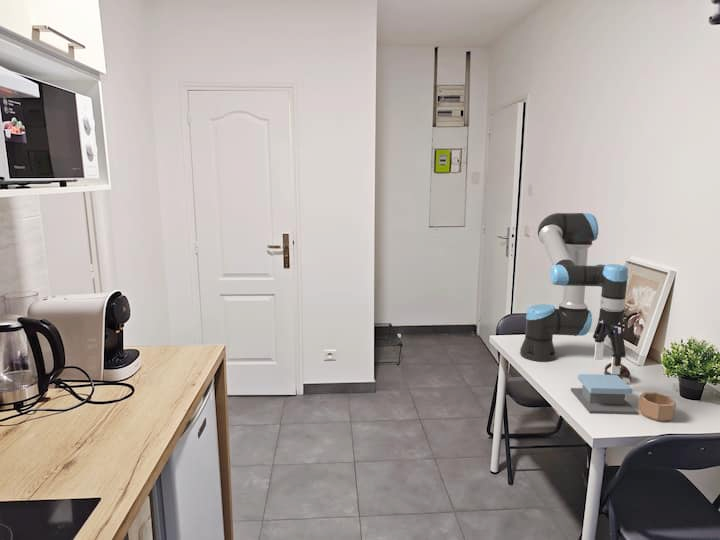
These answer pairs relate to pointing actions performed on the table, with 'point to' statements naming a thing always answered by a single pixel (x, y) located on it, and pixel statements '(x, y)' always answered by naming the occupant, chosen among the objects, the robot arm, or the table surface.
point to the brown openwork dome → (623, 372)
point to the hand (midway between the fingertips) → (606, 366)
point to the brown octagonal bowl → (656, 406)
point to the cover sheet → (604, 384)
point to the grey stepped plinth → (603, 402)
